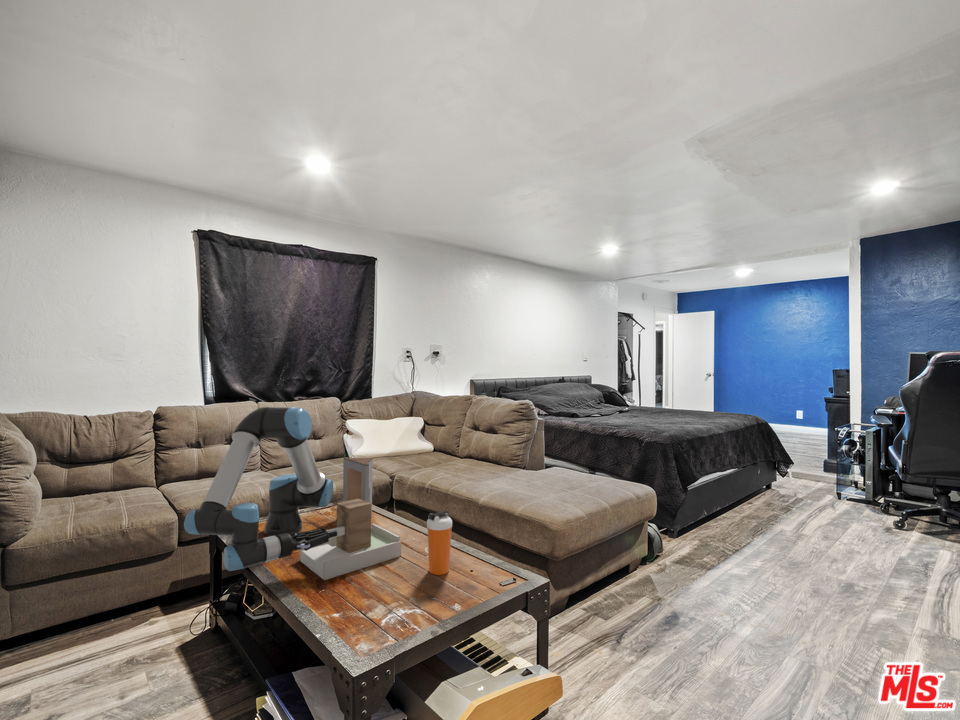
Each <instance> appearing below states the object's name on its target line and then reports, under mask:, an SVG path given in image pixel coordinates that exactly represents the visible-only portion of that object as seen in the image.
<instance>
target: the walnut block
mask: <svg viewBox="0 0 960 720" xmlns="http://www.w3.org/2000/svg"><path fill="white" fill-rule="evenodd" d="M342 526H344V527H345V535H342V536H338V537H337V544H336V546H337V547H338V548H340V549H342V550H344V551H346V552H348V553H352V552H355V551H358V550H361V549H364V548H367V547H371V527H372V518H371V503H369V502H366V501H363V500H361V499H354V500H350V501H345V502H343V501H342V502H341V501H340V502H336V528H337V527H342Z"/></svg>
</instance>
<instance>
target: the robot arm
mask: <svg viewBox="0 0 960 720" xmlns="http://www.w3.org/2000/svg"><path fill="white" fill-rule="evenodd" d="M312 429H313V425H312V418H311V415H310V413H309V412H308V410H306V409H305V408H302V407H296V406H292V407H280V406H279V407H275V406H274V407H273V406H272V407H270V406H268V407H267V406H264V407H260V408H258V409H255V410H253V411H251V412H249V414H247V415H246V416H245V417H244V418H243V419H242V420H241V421H240V422H239V423H238V425H237V426H236V427H235V428H234V431H233V432H232V435H231V440H232V442H231V443H230V446H229V447H228V450H227V452H226V453H225V456H224V457H223V461H222V462H221V464H220V466H219V468H218V470H217V472H216V474H215V476H214V478H213V480H212V483H211V485H210V486H209V488H208V490H207V493H206V495H205V497H204V498H203V501H202V503H201V504H200V506H199V508H195V509H191V510H190V511H189V512H188V513H187V514H186V516H185V517H184V518H185V519H184V522H183V528H184V531H186V533H188V534H189V535H198V536H205V535H206V536H208V535H212V536H231V544H230V545H228V546H226V547H224V550H223V554H222V560H223V565H224V568H225V569H226V571H228V572H232V571H237V570H243V569H246V568H249V567H253V566H256V565H261V564H264V563H267V564H269V563H270V562H271V561H274V560H278V559H283V558H287V557H289V556H291V555H292V553H293V551H296V550H297V551H300V549H302V548H304V550H305V551H307V550H309V549H310V548H313V547H315V546H318V545H321V544H323V543H326V542H328V541H329V539H330V538H334V537H338V536H342V535H345V527H344V526H342V527H337V526H336V527H333V528H330V529H326V527H322V529H321V528H320V529H313V530H306V531H302V529H303V521H302V519H301V518H302V517H301V515H300V512H299V507H304V508H326V507H327V506H329V504H330V503H331V500H332V498H333V493H334V481H333V479H330V478H326V476H325V474H324V473H323V472H322V471H320V470H319V467H318V466H317V462H316V460H315V457H314V454H313V452H312V449H311V446H310V444H309V441H308V439H309V437H310V435H311V433H312ZM264 439H274V440H276V442H277V444H278V445H279V446H280V447H281V448H282V449H284V450H285V453H286V454H287V458H288V459H289V462H290V464H291V466H292V469H293V471H294V473H291V474H285V475H280V476H276V477H274V478H272V479H271V480H270V481H269V488H268V491H269V492H268V516H267V517H266V522H265V525H264V528H263V529H264V531H263V533H264V534H265V535H266V537H262V538H259V531H260V530H259V526H260V522H259V521H260V512H259V505H258V504H256V503H254V502H242V503H238V504H236V505H234V506H233V508H232V509H230V510H227V509H228V507H229V505H230V502H231V499H232V498H233V495H234V494H235V491H236V489H237V487H238V485H239V482H240V480H241V478H242V475H243V474H244V471H245V469H246V466H247V465H248V462H249V460H250V458H251V456H252V453H253V451H254V450H255V448H257V447H259V445H260V443H261V441H262V440H264Z"/></svg>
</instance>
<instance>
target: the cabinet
mask: <svg viewBox="0 0 960 720" xmlns="http://www.w3.org/2000/svg"><path fill="white" fill-rule="evenodd" d="M342 475H343V476H342V477H343V478H342V479H343V481H342V482H343V483H342V487H343V488H342V489H343V490H342V496H343V497H342V502H345V501H350V500H354V499H361V500H363V501H366V502H369V503H371V519H372V518H373V457H348V456H346V457H343V474H342Z"/></svg>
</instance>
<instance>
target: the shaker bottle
mask: <svg viewBox="0 0 960 720" xmlns="http://www.w3.org/2000/svg"><path fill="white" fill-rule="evenodd" d="M449 514H450V512H449V511H448V510H440V511H438V512H435V513H431V512H430V513H429V514H428V519H427V520H426V528H427V549H428V550H427V551H428V572H429V573H430V574H432V575H435V576H443V575H446V574H448V573H449V572H450V565H451V564H450V563H451V546H452V539H451V538H452V528H453V520H452V518H451V517H450V516H449Z"/></svg>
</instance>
